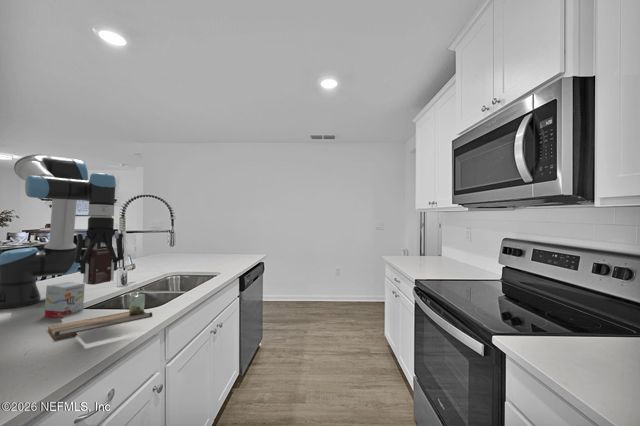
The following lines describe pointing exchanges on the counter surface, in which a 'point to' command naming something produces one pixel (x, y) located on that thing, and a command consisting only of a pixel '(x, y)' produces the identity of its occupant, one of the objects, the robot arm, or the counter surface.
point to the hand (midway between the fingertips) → (98, 281)
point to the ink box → (64, 299)
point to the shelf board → (91, 324)
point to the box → (99, 266)
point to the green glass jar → (136, 304)
